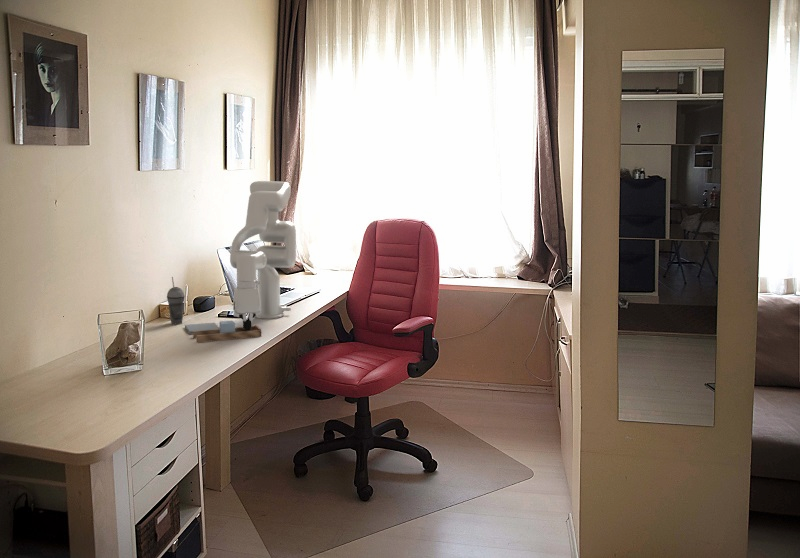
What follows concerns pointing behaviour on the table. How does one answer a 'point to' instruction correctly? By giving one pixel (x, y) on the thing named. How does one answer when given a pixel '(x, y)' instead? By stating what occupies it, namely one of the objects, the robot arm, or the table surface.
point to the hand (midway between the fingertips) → (247, 329)
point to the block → (227, 326)
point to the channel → (226, 334)
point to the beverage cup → (175, 304)
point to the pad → (200, 327)
